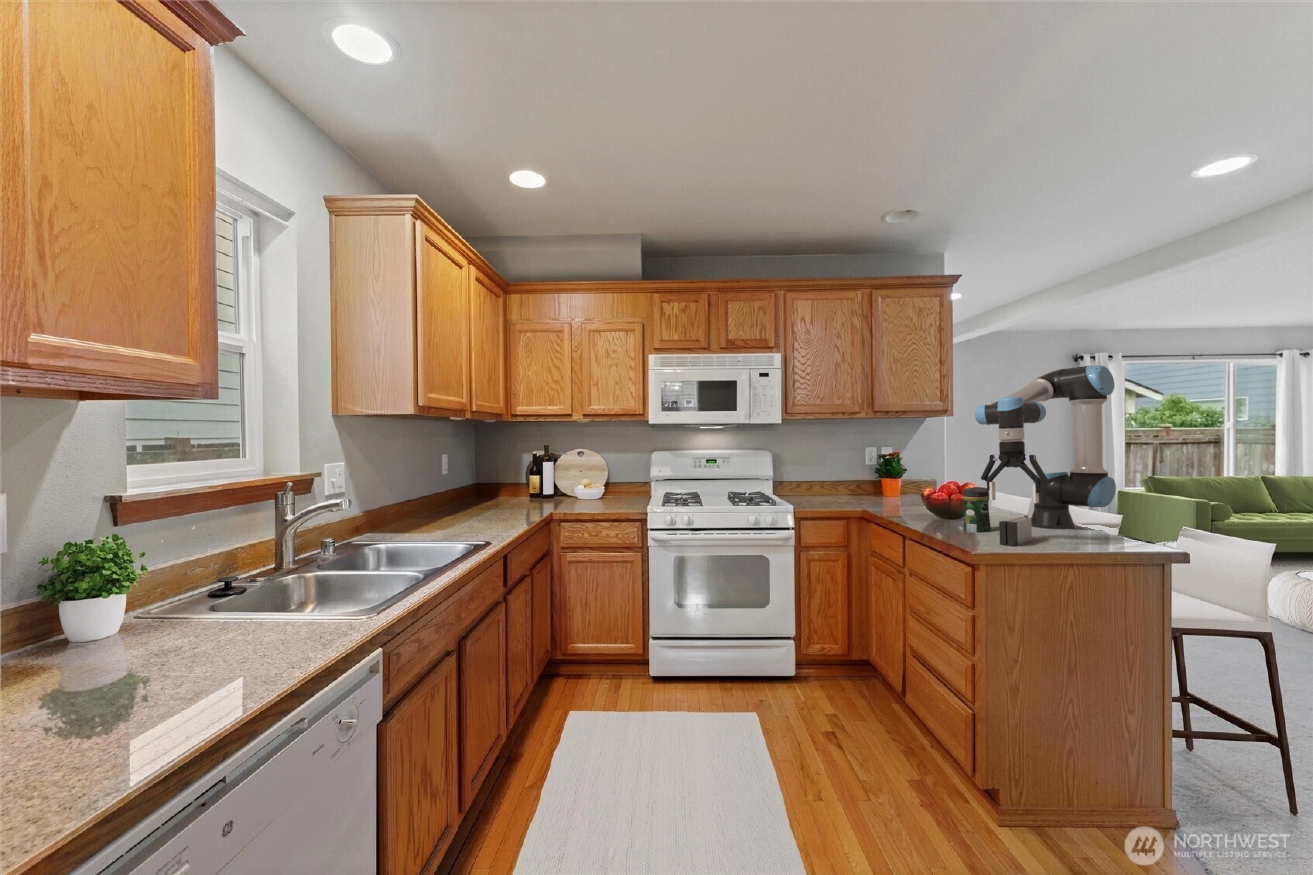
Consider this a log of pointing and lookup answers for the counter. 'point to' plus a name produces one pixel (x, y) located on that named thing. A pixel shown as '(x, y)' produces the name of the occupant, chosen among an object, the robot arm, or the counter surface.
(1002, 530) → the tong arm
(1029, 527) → the grey flat box
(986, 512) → the coffee jar
